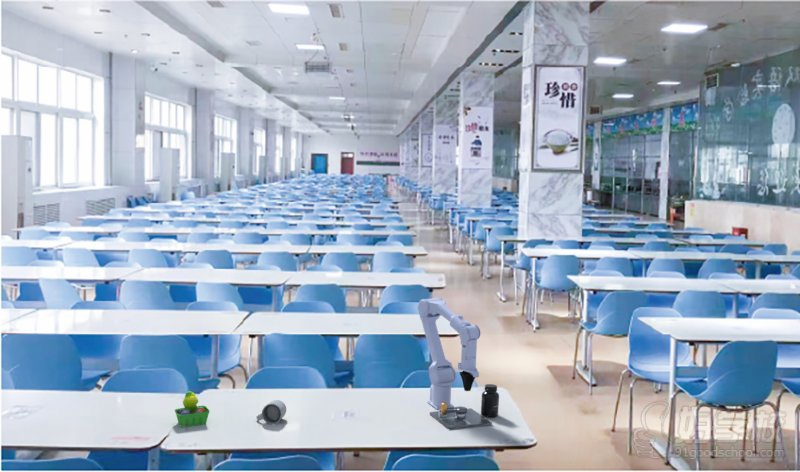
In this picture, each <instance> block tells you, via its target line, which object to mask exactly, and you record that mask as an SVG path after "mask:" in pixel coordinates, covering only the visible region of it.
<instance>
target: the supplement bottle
mask: <svg viewBox="0 0 800 472" xmlns="http://www.w3.org/2000/svg"><path fill="white" fill-rule="evenodd" d="M497 391H498V385H497V384H492V383H487V384H486V383H485V384H484V390H483V392H482V393H481V401H480V402H481V406H480V415H482V416H483V417H484V418H489V419H491V418H492V419H494V418H497V417H498V416H499V407H500V406H499V405H500V394H499V392H497Z"/></svg>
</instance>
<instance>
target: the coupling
mask: <svg viewBox="0 0 800 472" xmlns="http://www.w3.org/2000/svg"><path fill="white" fill-rule="evenodd" d="M467 409H468V408H467V407H466V406H454V408H447V403H441V414H442V415H446V414H447V413H455V412H456V413H461V414H463V413H467Z"/></svg>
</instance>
